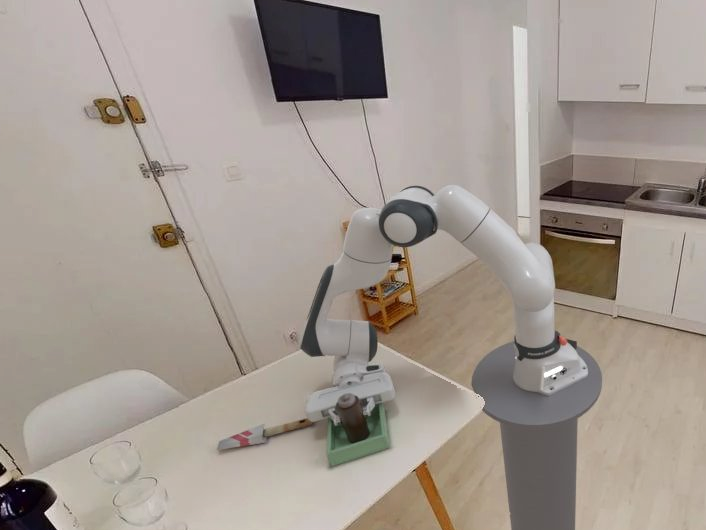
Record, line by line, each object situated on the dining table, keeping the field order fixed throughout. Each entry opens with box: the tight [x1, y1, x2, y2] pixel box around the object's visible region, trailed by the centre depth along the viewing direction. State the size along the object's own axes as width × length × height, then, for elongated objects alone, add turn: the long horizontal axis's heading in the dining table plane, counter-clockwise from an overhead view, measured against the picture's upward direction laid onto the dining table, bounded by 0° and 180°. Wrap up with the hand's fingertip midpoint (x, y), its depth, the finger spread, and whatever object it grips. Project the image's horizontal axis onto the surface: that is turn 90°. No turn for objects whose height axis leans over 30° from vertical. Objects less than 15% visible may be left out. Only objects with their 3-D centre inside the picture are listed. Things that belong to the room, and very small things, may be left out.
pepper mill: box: [336, 393, 370, 444], centre depth 96 cm, size 5×5×13 cm
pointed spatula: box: [216, 417, 314, 451], centre depth 100 cm, size 4×3×20 cm
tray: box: [326, 402, 390, 467], centre depth 99 cm, size 13×13×4 cm
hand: (352, 419), depth 96 cm, fingers closed on pepper mill, 5 cm apart
